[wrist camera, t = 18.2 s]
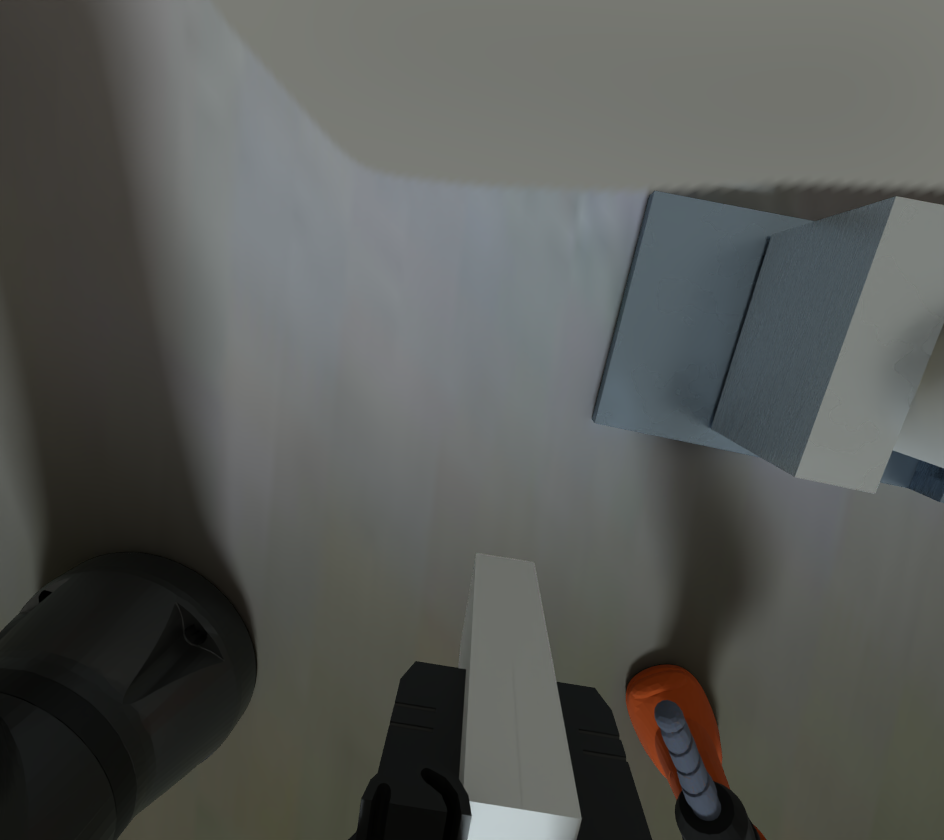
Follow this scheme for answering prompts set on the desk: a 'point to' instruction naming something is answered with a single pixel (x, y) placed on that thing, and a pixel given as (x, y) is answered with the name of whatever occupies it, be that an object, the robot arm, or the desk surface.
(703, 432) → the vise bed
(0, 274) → the desk surface
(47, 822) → the robot arm
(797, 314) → the block
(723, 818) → the toy drill
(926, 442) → the can
